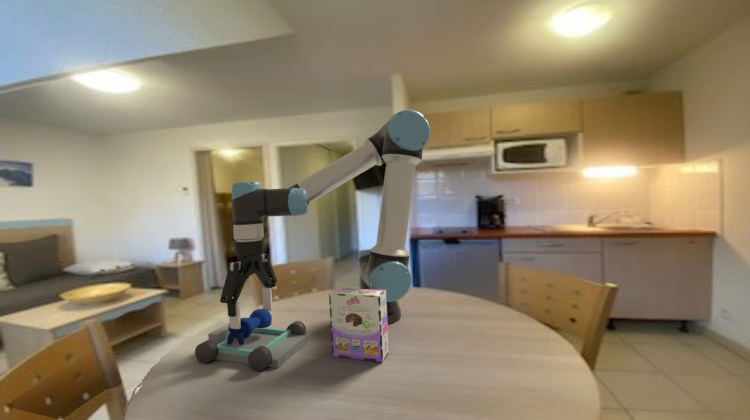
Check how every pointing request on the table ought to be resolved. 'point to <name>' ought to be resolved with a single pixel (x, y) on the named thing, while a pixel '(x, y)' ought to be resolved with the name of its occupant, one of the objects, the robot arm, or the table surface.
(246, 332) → the toy
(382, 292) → the candy box
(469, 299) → the table surface
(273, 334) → the chassis
